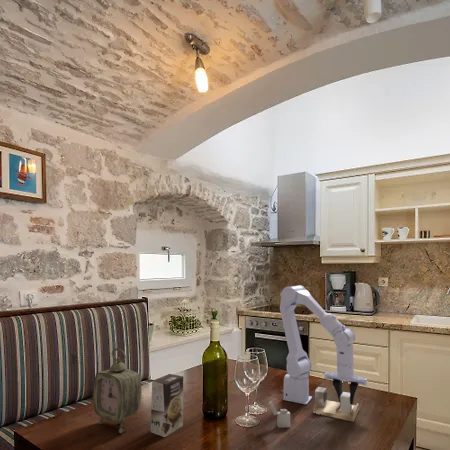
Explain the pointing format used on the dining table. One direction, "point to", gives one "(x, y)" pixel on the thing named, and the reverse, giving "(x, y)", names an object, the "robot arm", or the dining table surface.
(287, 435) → the dining table surface
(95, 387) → the tabletop clock
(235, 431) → the dining table surface
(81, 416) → the dining table surface
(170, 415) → the coffee box
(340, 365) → the robot arm
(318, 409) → the cream tray
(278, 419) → the lighter
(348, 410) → the white rectangular box
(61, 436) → the dining table surface
